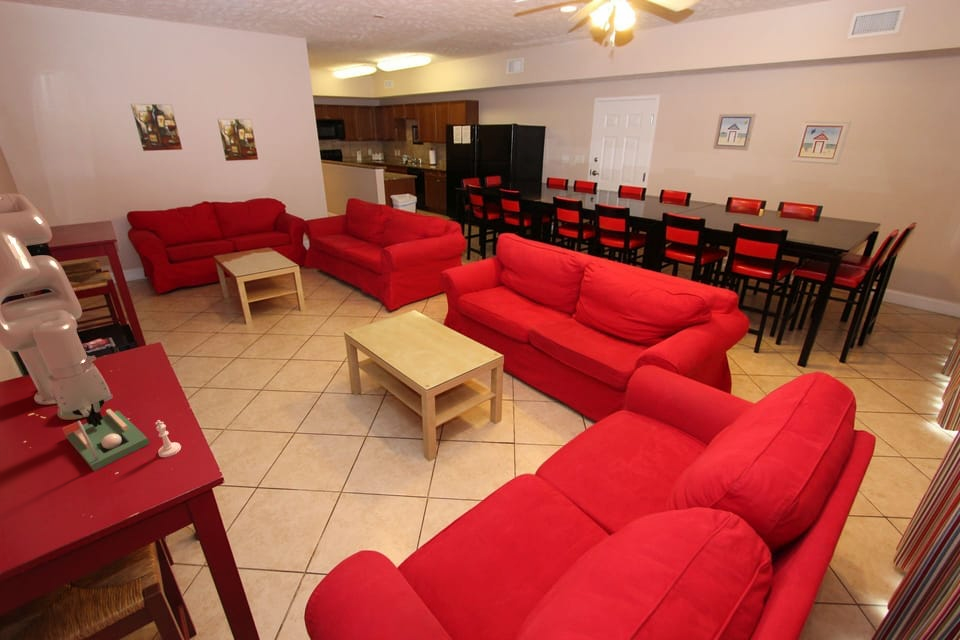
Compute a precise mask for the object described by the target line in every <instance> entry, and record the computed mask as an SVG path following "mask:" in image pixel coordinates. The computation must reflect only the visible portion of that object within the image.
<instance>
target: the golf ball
mask: <svg viewBox="0 0 960 640" xmlns="http://www.w3.org/2000/svg"><path fill="white" fill-rule="evenodd" d="M121 441H122V439H121V437H120V436H119V435H118V434H109V435H106V436H105V437H104V438H103V439H102V446H103V447H104V448H105V449H114V448H117V447H118V446H119V445H120V444H121Z"/></svg>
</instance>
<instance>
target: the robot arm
mask: <svg viewBox="0 0 960 640" xmlns="http://www.w3.org/2000/svg"><path fill="white" fill-rule="evenodd" d="M52 237H53V233H52V230H51V227H50V226H49V223H48V221H47V220H46V218H45V217H44V216H43V215H42V213H41V212H40V211H39V209H38V208H36V207H35V205H33V203H32V202H31V201H30V200H29V199H28V198H27V197H26V196H24V195H23V194H19V193H1V194H0V345H1V346H2V347H3V348H4V349H5V350H8V351H10V352H18V355H19V357H20V359H21V360H22V362H23V365H25V368H26V370H27V372H28V374H29V377H30V378H31V379H32V382H33V383H34V385H35V387H36V389H37V392H36V393H35V394H34V397H33V399H34V401H35V402H36V404H39V405H44V406H45V405H47V406H48V405H55V404H56V406H57V407H58V408H60V413H61V415H62V416H63V417H66V416H70V415H73V414H75V415H81V416H84V419H85V421H86V423H88V424H89V425H90V424H92V425H93V426H94V427H97V426H98V425H102V423H101V421H100V420H102V419H103V418H102V417H103V416H102V414H101V412H100V411H101V408H102V407H103V406H104V404H105V403H106V402H108V401H110V400H112V399H113V397H114V396H113V394H112V393H111V391H110V388H109V386H108V384H107V382H106V380H105V378H104V377H103V375H102V373H101V372H100V371H99V369H98V367H97V366H96V365H95V364H94V363H93V362H94V361H96V360H97V357H96V356H95V354H93V355H87V353H86V350H85V349H84V346H83V344H82V341H81V339H80V337H79V335H78V331H77V329H78V323H77V320H78V319H79V318H81V317H82V315H83V310H82V306H81V304H80V301H79V299H78V297H77V296H76V293H75V291H74V289H73V286H72V284H71V283H70V281H69V278H68V277H67V274H66V272H65V270H64V268H63V266H62V265H61V264H60V262H59V261H58V260H57V259H55V258H54V257H53V256H51V255H47V254H46V255H44V254H43V255H41V254H40V255H34V256H32V255H31V253H30V252H29V249H28V248H27V246H33V245H34V246H35V245H40V244H46V243H48V242H50V241H52ZM43 290H49V291H51V292H47V293H43V294H37V295H34V296H33V295H31V296H28V297H24V298H18V299H15V300H11V301H8V302H5V303H3V301H4V300H5V299H6V298H7V297H11V296H18V295H23V294H27V293H31V292H38V291H43ZM88 405H91V409H90V410H91V411H88V410H86V408H85V406H88ZM97 424H98V425H97Z"/></svg>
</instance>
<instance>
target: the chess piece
mask: <svg viewBox="0 0 960 640" xmlns="http://www.w3.org/2000/svg"><path fill="white" fill-rule="evenodd" d="M164 423H165V422H164V421H161V420H160V419H158V420H157V421H156V422H155V423H154V424H155V426H156V425H157V426H156V427H155V430H157V431H158V437H159V438H162V442H163V445H162V446H161V447H160V448H159V449H158V451H157V452H158V454H157V455H158V456H159V457H160V458H168V457H172V456H174V455H177V453H178V452H180V451H181V448H182V445H181V444H180V443H179V442H176V441H175V442H171V440H170V439H169V437H168V435H169V434H170V433H169V431H168V430H166V427H167V425H166V424H164Z"/></svg>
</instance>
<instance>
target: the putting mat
mask: <svg viewBox="0 0 960 640" xmlns="http://www.w3.org/2000/svg"><path fill="white" fill-rule="evenodd" d="M105 412H106V414H105V415H103V416H102V418H103V419H102V420H100V421H101V423H102V425H98V424H97V425H98V426H97V427H94V426H93V425H92V424H90V425H89V424H88V423H87V422H86V423H84V424H82V422H81V420H78V421H76V422H73V423H71V424H68V425H67V426H64V427H61V430H62V431H63V433H64V435H65V437H66V438H67V440H68V442H70V443H71V445H72V446H73V447H74V449H75V450H76V452H77V453H78V454H79V455H80V456H81V457H82V458H83V459H84V461H85V462H86V464H88V466H89V467H90V468H91V470H92V471H93V472H95V471H98V470H100V469H101V468H103V467H106V466H107V465H110V464H112V463H114V462H116V461H118V460H120V459H122V458H124V457H126V456H128V455H130V454H132V453H134V452H136V451H138V450H141V449H142V448H144V447H146V446H148V445H150V441H149V439H148V437H147V436H146V435H145V434H144V433H143V432H142V431H141V430H139V429H138V427H136V426H135V425H134V424H133V423H132V422H131V421H130V420H129V419H128V418H127V417H126V416H124V415H123V413H121V412H120V411H119V410H116V411H113V410H112V409H111V408H108V409H106V410H105ZM109 434H118V435H119V436H120V437H121V439H122V441H121V444H120V445H119V446H118V447H117V448H114V449H105V448H104V447H103V446H102V439H103V438H104V437H105V436H106V435H109Z"/></svg>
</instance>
